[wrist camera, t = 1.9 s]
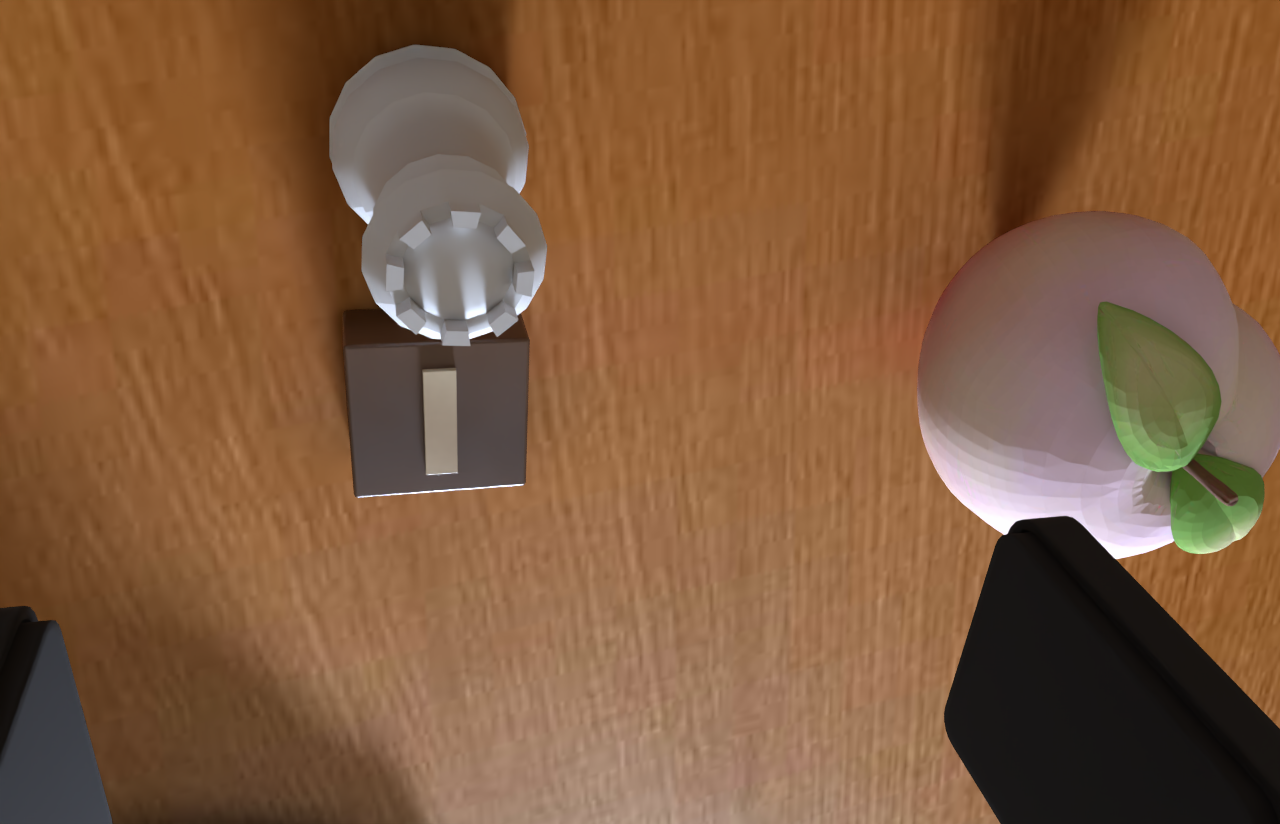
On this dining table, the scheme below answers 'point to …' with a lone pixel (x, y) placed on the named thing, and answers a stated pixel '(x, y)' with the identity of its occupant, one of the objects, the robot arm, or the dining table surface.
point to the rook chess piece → (439, 192)
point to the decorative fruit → (1101, 386)
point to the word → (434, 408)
